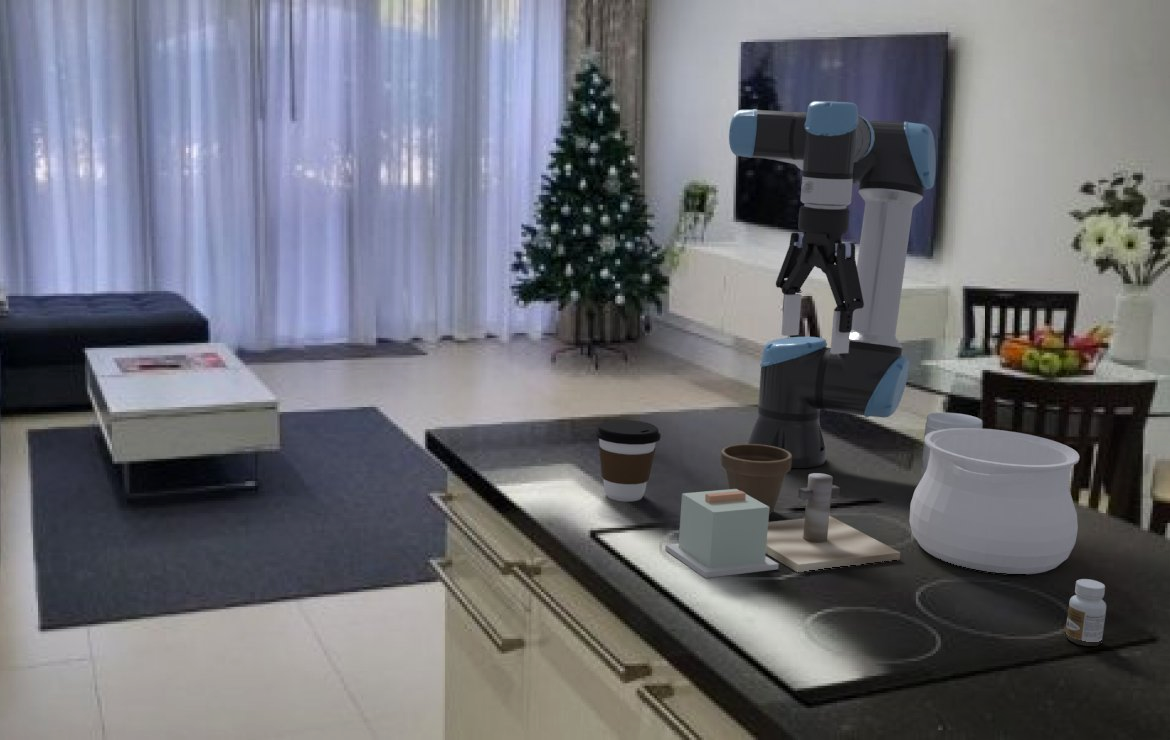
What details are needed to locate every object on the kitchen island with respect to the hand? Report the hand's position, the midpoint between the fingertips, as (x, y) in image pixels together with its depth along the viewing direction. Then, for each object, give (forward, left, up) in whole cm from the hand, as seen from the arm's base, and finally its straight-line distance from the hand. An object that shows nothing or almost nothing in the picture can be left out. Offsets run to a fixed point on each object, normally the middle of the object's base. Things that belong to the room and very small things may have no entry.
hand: (813, 344), depth 198 cm
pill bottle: (+50, +10, -30) cm, 59 cm away
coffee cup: (-22, -20, -30) cm, 42 cm away
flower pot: (-9, -3, -30) cm, 31 cm away
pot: (+19, +22, -30) cm, 42 cm away
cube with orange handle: (+10, -20, -29) cm, 36 cm away
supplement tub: (-5, +34, -30) cm, 45 cm away
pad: (+10, -20, -30) cm, 37 cm away
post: (+9, -3, -30) cm, 31 cm away
